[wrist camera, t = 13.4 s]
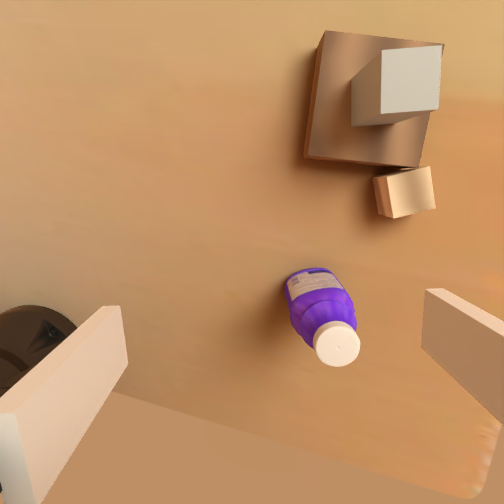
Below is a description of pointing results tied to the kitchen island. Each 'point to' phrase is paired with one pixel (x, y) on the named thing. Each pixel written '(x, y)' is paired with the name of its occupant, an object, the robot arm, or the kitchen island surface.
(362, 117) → the pale gray block
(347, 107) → the walnut block
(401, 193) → the maple cube
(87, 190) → the kitchen island surface
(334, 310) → the bottle
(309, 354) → the kitchen island surface
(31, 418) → the robot arm
